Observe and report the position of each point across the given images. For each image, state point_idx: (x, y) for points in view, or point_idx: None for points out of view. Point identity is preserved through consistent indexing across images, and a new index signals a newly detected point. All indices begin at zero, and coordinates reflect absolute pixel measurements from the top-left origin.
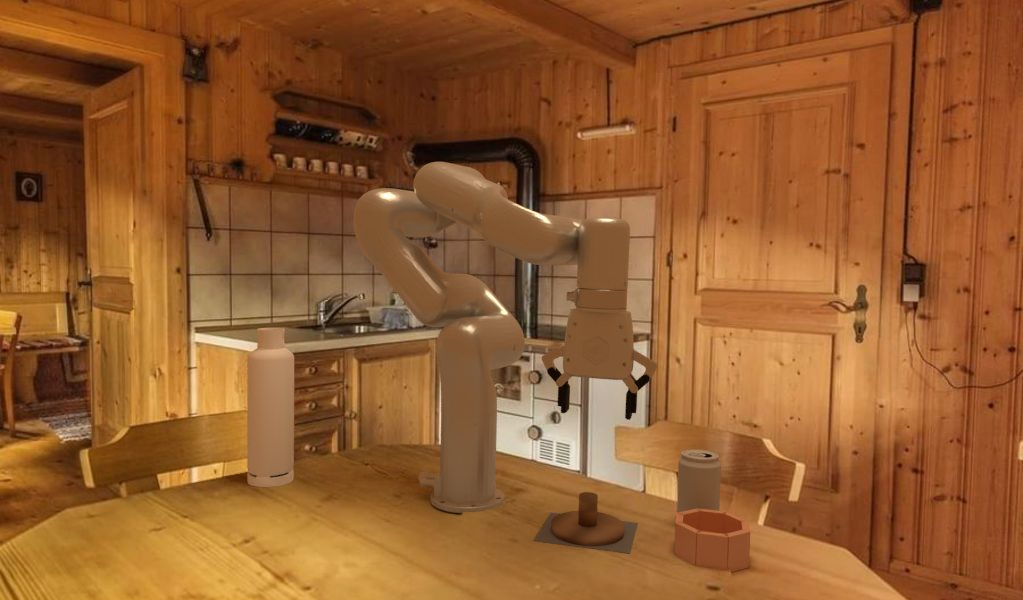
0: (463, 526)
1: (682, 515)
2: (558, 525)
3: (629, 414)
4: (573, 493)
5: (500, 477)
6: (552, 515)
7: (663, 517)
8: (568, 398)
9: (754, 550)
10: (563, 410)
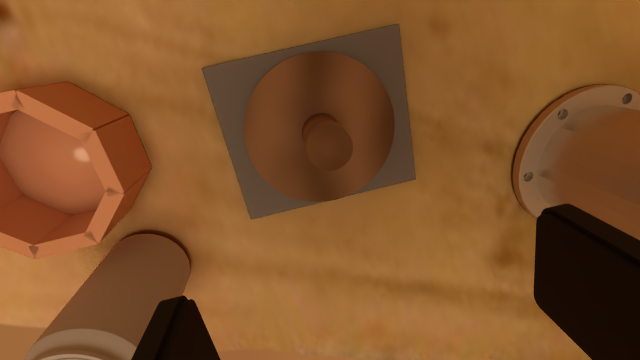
0: (550, 37)
1: (104, 184)
2: (370, 90)
3: (153, 317)
4: (410, 293)
5: None
6: (407, 166)
7: (228, 278)
8: (591, 323)
9: None
10: (560, 211)
